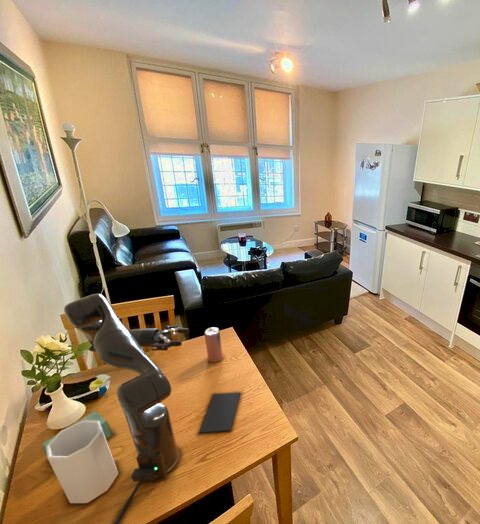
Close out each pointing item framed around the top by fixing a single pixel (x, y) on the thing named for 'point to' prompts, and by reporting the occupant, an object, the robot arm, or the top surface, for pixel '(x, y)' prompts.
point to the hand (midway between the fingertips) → (185, 336)
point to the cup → (82, 461)
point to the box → (91, 417)
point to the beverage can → (213, 344)
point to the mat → (220, 413)
